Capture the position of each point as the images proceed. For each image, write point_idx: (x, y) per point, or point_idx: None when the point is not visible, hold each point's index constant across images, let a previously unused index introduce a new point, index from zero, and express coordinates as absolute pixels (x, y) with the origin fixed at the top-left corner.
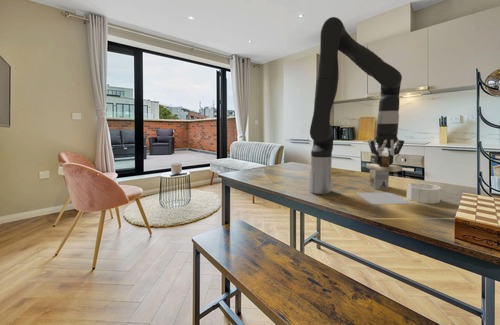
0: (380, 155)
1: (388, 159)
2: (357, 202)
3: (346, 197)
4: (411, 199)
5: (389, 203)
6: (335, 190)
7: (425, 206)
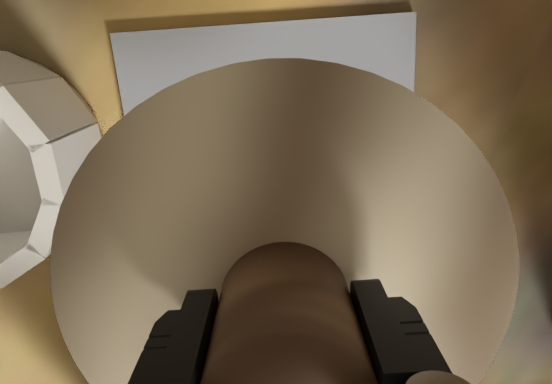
0: (426, 379)
1: (250, 311)
2: (483, 81)
3: (506, 197)
4: (92, 119)
5: (282, 35)
6: (506, 354)
7: (46, 6)
